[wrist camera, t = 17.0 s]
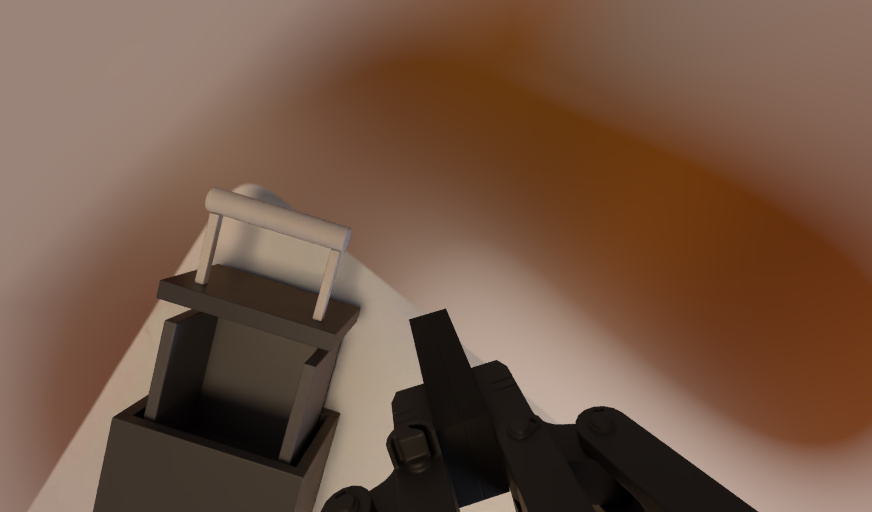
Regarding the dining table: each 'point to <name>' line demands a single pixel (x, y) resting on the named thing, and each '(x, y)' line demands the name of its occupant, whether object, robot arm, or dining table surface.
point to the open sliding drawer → (250, 341)
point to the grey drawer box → (202, 471)
